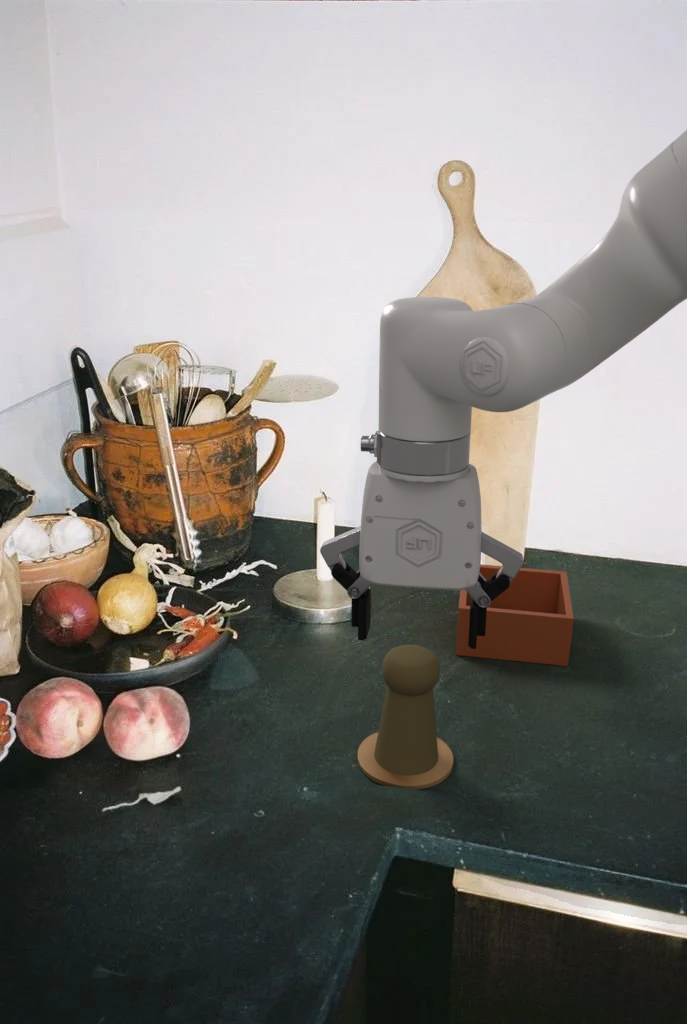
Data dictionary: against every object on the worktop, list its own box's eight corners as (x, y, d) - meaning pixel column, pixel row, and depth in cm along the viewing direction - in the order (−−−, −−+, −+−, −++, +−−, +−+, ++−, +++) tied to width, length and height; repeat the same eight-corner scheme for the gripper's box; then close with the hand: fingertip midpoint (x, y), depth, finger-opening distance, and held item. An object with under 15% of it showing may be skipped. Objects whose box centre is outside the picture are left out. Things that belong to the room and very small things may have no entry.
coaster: (455, 737, 92) (455, 733, 91) (450, 795, 83) (451, 791, 83) (364, 727, 93) (364, 723, 93) (350, 783, 84) (350, 779, 84)
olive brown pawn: (449, 751, 89) (457, 648, 85) (417, 783, 84) (424, 677, 80) (395, 729, 92) (400, 629, 88) (361, 759, 87) (365, 655, 83)
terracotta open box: (561, 615, 116) (566, 571, 114) (568, 666, 105) (574, 618, 103) (459, 606, 118) (463, 562, 116) (455, 655, 107) (458, 608, 104)
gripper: (311, 460, 75) (314, 650, 81) (532, 470, 72) (517, 666, 78) (328, 435, 82) (329, 612, 88) (529, 444, 79) (516, 625, 85)
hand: (418, 637), depth 83 cm, fingers open, 9 cm apart
